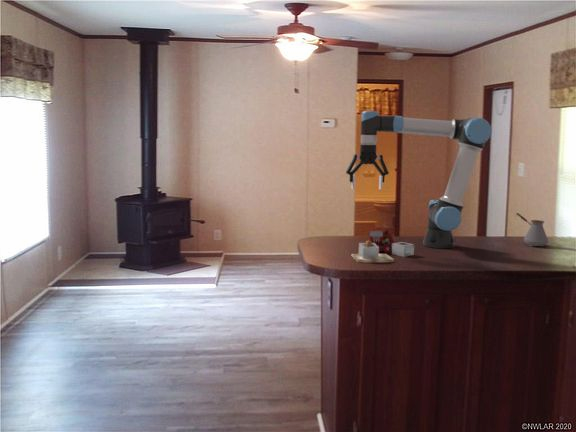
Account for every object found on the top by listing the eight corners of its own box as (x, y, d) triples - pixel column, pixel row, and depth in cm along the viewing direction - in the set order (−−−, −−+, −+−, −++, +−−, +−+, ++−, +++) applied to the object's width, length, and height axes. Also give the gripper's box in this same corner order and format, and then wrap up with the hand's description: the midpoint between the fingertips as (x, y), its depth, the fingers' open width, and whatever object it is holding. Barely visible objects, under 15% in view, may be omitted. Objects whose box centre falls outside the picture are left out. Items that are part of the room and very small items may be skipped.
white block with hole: (401, 252, 279) (402, 242, 278) (413, 255, 274) (414, 244, 273) (391, 254, 275) (392, 243, 274) (403, 256, 269) (404, 246, 269)
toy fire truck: (395, 253, 277) (396, 231, 276) (369, 253, 276) (370, 231, 274) (391, 250, 284) (392, 228, 283) (365, 250, 283) (366, 228, 281)
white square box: (373, 253, 266) (374, 242, 264) (378, 258, 259) (379, 247, 258) (358, 253, 265) (359, 242, 263) (362, 258, 258) (363, 247, 257)
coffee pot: (552, 247, 302) (555, 218, 299) (534, 248, 298) (537, 218, 295) (522, 239, 321) (524, 212, 319) (505, 240, 317) (507, 212, 315)
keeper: (385, 256, 269) (386, 238, 268) (394, 262, 258) (395, 243, 257) (351, 256, 267) (351, 238, 266) (358, 262, 255) (358, 243, 254)
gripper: (391, 144, 285) (389, 188, 288) (340, 143, 281) (339, 188, 284) (396, 144, 278) (394, 190, 281) (344, 144, 274) (343, 189, 277)
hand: (366, 189), depth 283 cm, fingers open, 13 cm apart
